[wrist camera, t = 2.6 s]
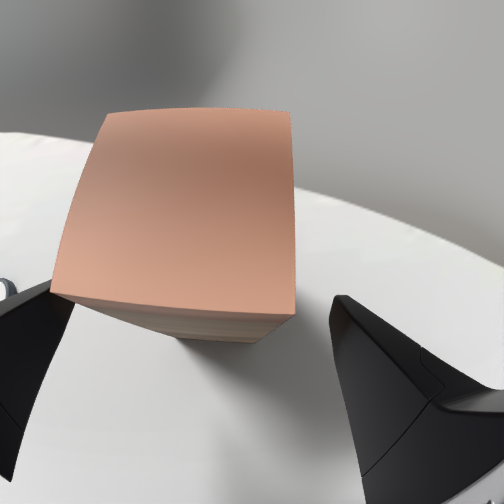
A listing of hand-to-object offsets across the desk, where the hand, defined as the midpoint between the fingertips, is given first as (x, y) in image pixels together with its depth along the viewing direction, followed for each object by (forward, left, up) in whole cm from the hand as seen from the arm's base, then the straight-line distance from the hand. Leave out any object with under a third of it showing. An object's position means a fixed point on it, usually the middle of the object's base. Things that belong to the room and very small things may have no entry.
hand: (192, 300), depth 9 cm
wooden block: (+1, -1, -9) cm, 9 cm away
